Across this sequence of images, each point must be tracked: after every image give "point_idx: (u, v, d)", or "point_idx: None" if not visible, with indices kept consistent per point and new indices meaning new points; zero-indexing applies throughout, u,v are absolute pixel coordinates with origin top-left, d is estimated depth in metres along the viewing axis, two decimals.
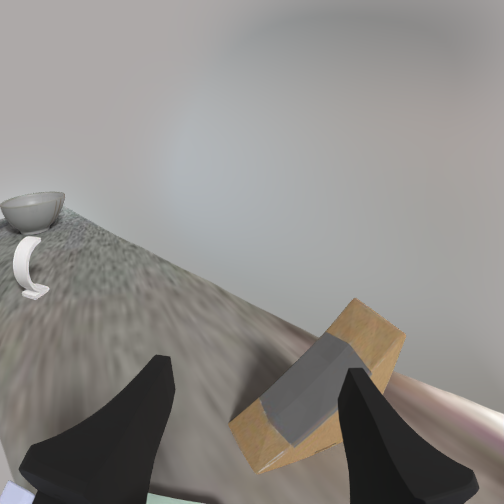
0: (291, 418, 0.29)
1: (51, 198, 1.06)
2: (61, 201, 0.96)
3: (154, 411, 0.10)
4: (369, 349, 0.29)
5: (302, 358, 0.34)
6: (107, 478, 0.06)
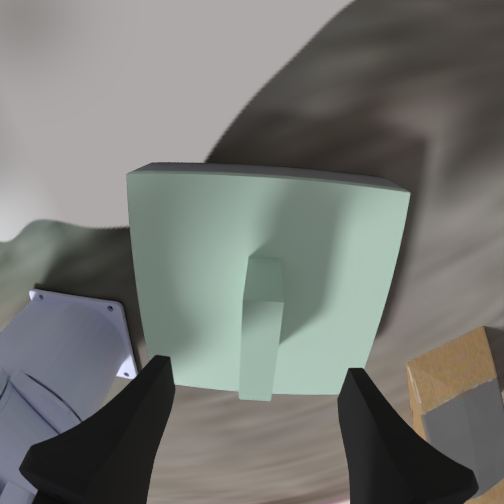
0: (452, 420, 0.20)
1: None
2: None
3: (153, 411, 0.10)
4: None
5: None
6: (107, 478, 0.06)
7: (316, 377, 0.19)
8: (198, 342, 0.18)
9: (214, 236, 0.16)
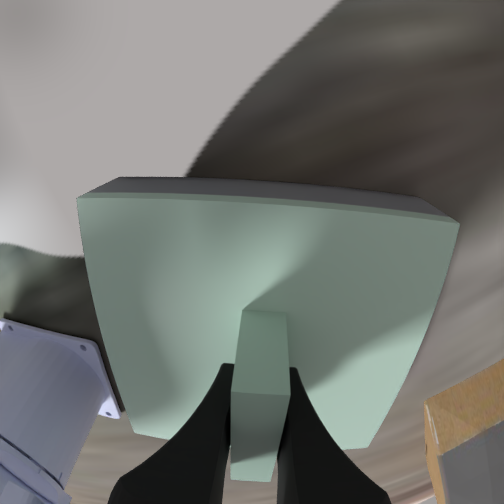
0: (471, 459, 0.16)
1: None
2: None
3: (230, 421, 0.10)
4: None
5: None
6: (212, 500, 0.06)
7: None
8: (182, 401, 0.14)
9: (195, 283, 0.11)
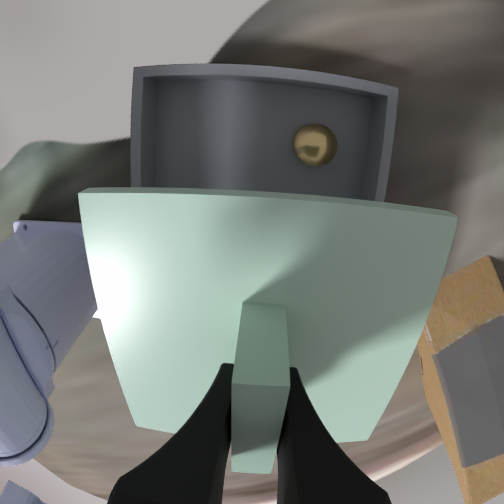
0: (468, 360, 0.19)
1: None
2: None
3: (229, 421, 0.10)
4: (485, 472, 0.15)
5: None
6: (212, 500, 0.06)
7: None
8: (183, 394, 0.14)
9: (195, 276, 0.11)
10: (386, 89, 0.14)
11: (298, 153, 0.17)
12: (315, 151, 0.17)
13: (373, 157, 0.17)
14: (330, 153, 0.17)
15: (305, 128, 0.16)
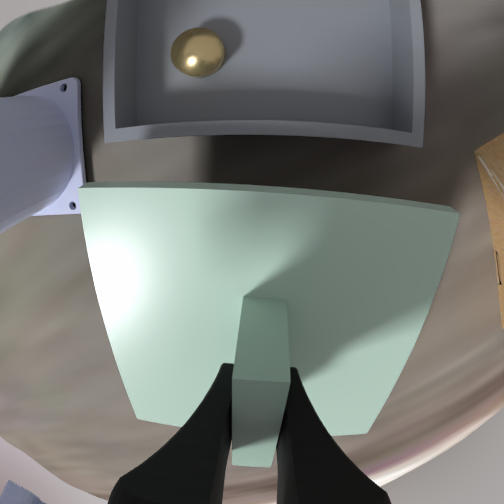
0: None
1: None
2: None
3: (230, 421, 0.10)
4: None
5: None
6: (212, 500, 0.06)
7: (325, 421, 0.15)
8: (184, 387, 0.14)
9: (196, 271, 0.11)
10: None
11: None
12: None
13: None
14: None
15: None
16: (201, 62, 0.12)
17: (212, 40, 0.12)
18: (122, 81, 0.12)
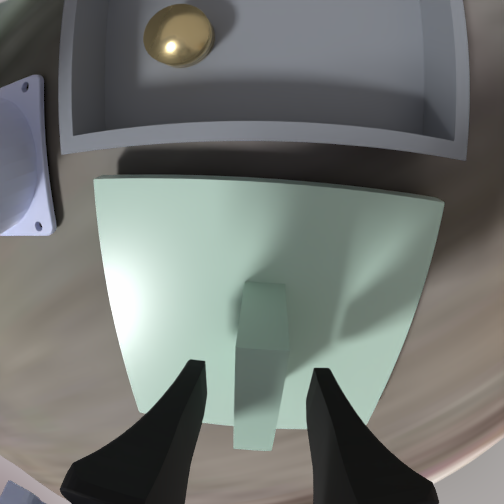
0: None
1: None
2: None
3: (192, 417, 0.10)
4: None
5: None
6: (159, 491, 0.06)
7: None
8: None
9: (201, 256, 0.12)
10: None
11: None
12: None
13: None
14: None
15: None
16: (181, 47, 0.09)
17: (196, 19, 0.08)
18: (84, 75, 0.09)
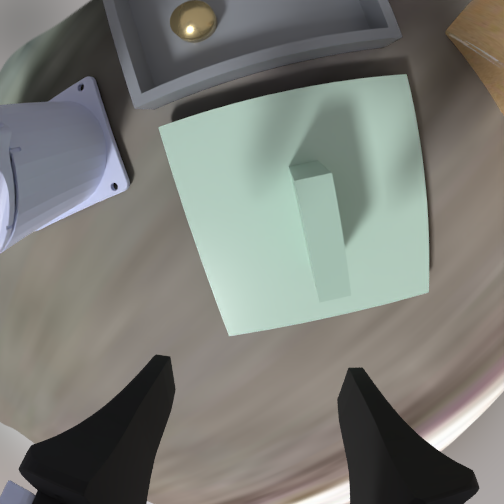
0: None
1: None
2: None
3: (154, 411, 0.10)
4: None
5: None
6: (107, 478, 0.06)
7: (387, 280, 0.19)
8: (264, 273, 0.19)
9: (252, 156, 0.16)
10: None
11: None
12: None
13: None
14: None
15: None
16: (199, 25, 0.13)
17: (202, 7, 0.13)
18: (136, 58, 0.14)
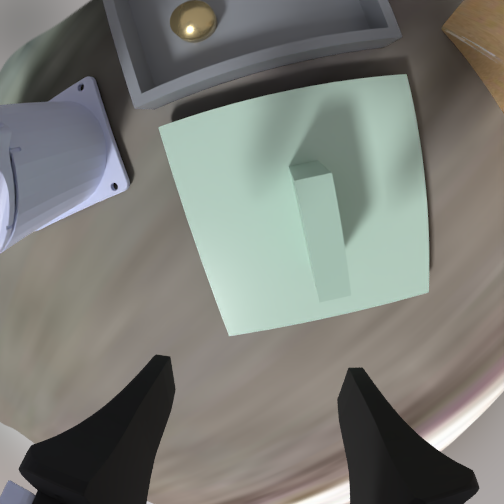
0: None
1: None
2: None
3: (154, 411, 0.10)
4: None
5: None
6: (107, 478, 0.06)
7: (387, 280, 0.19)
8: (264, 273, 0.19)
9: (252, 156, 0.16)
10: None
11: None
12: None
13: None
14: None
15: None
16: (199, 25, 0.13)
17: (202, 7, 0.13)
18: (136, 58, 0.14)
